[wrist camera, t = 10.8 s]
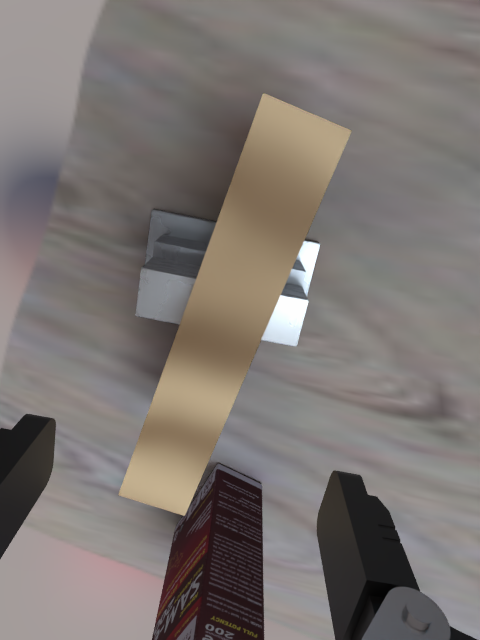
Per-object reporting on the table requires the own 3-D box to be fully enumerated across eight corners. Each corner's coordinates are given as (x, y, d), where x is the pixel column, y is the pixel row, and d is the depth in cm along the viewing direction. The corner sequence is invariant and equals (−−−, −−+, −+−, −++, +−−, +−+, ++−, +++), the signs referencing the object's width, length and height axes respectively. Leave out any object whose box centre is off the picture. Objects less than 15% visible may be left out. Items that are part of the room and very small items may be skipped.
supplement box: (215, 459, 39) (194, 647, 24) (263, 482, 40) (272, 678, 25) (171, 526, 42) (128, 733, 27) (217, 547, 42) (199, 759, 27)
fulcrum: (154, 208, 32) (129, 221, 25) (318, 242, 32) (335, 263, 26) (140, 313, 34) (114, 349, 28) (292, 342, 35) (302, 384, 28)
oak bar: (260, 106, 23) (263, 93, 18) (331, 136, 23) (351, 130, 19) (138, 442, 30) (118, 494, 25) (194, 460, 31) (184, 516, 26)
